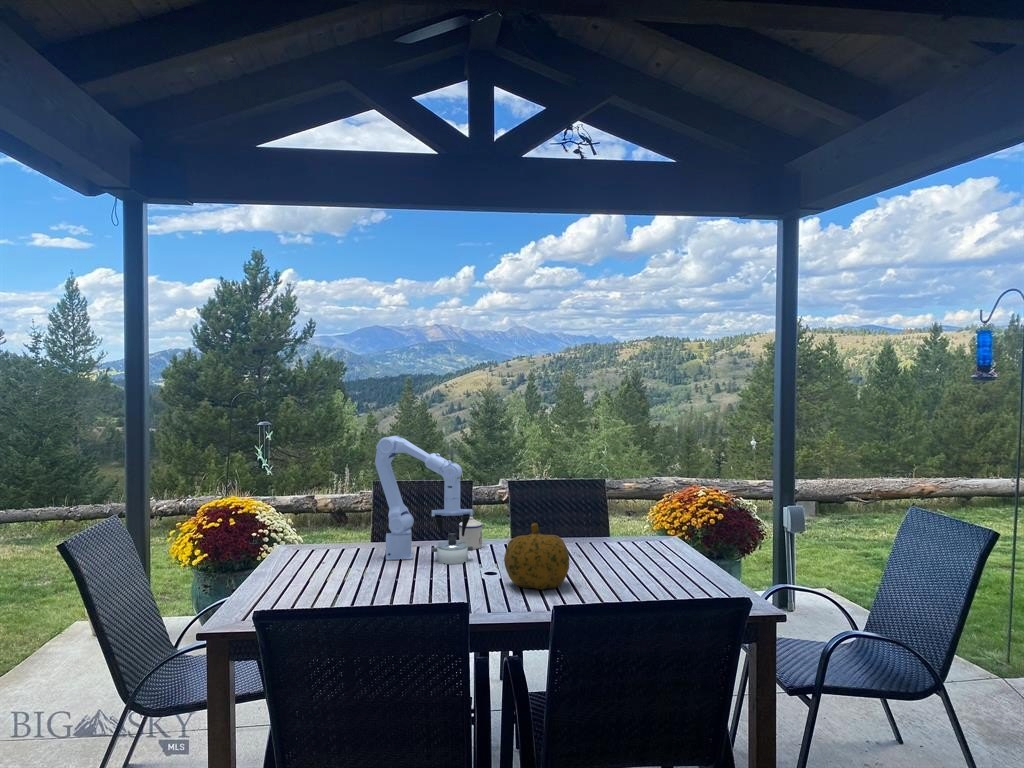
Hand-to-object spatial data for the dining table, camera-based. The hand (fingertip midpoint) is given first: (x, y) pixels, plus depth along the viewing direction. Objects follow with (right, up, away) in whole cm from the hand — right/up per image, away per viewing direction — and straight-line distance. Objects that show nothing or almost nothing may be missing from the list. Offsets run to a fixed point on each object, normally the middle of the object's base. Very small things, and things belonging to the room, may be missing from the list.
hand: (452, 535), depth 260 cm
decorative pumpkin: (+30, -9, -31) cm, 44 cm away
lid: (0, -4, 0) cm, 4 cm away
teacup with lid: (+5, -9, +22) cm, 24 cm away
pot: (0, -9, 0) cm, 9 cm away
